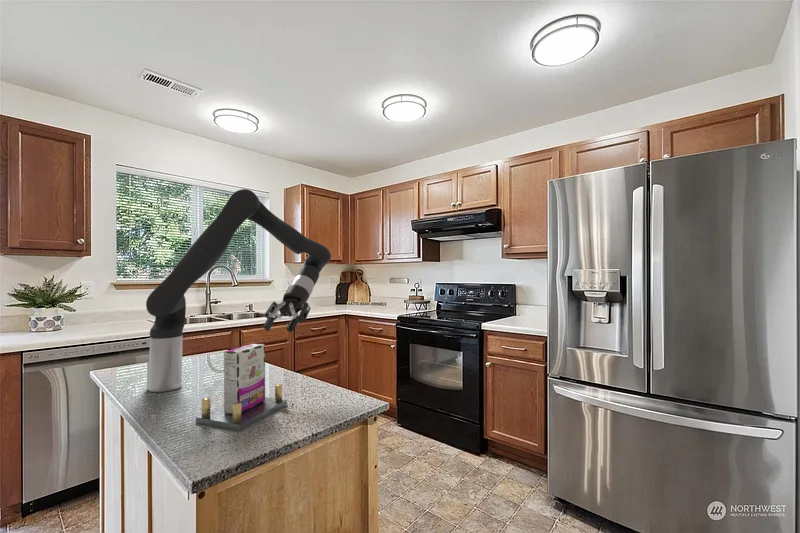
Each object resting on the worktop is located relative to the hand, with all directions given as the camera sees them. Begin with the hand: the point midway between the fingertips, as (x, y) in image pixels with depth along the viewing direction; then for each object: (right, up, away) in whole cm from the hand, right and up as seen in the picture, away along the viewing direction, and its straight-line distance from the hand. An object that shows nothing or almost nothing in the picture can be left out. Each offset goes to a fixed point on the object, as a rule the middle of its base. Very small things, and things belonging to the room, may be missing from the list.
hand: (277, 330), depth 112 cm
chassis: (-4, -20, -13) cm, 25 cm away
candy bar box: (-5, -19, -13) cm, 23 cm away
